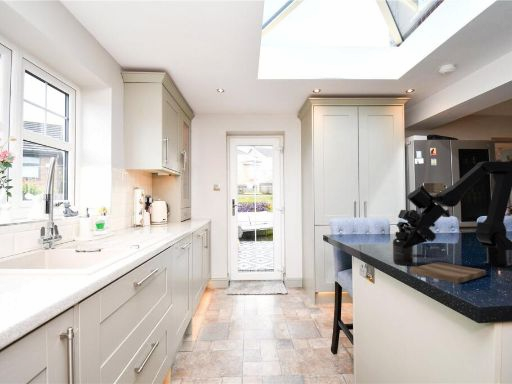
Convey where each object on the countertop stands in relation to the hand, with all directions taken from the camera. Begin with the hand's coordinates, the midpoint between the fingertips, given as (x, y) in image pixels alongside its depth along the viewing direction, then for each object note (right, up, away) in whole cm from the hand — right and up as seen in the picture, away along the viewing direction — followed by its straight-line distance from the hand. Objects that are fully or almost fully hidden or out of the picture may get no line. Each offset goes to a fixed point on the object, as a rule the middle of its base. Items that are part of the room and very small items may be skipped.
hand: (398, 246), depth 103 cm
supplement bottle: (+1, -7, 0) cm, 7 cm away
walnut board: (+8, -6, -15) cm, 18 cm away
